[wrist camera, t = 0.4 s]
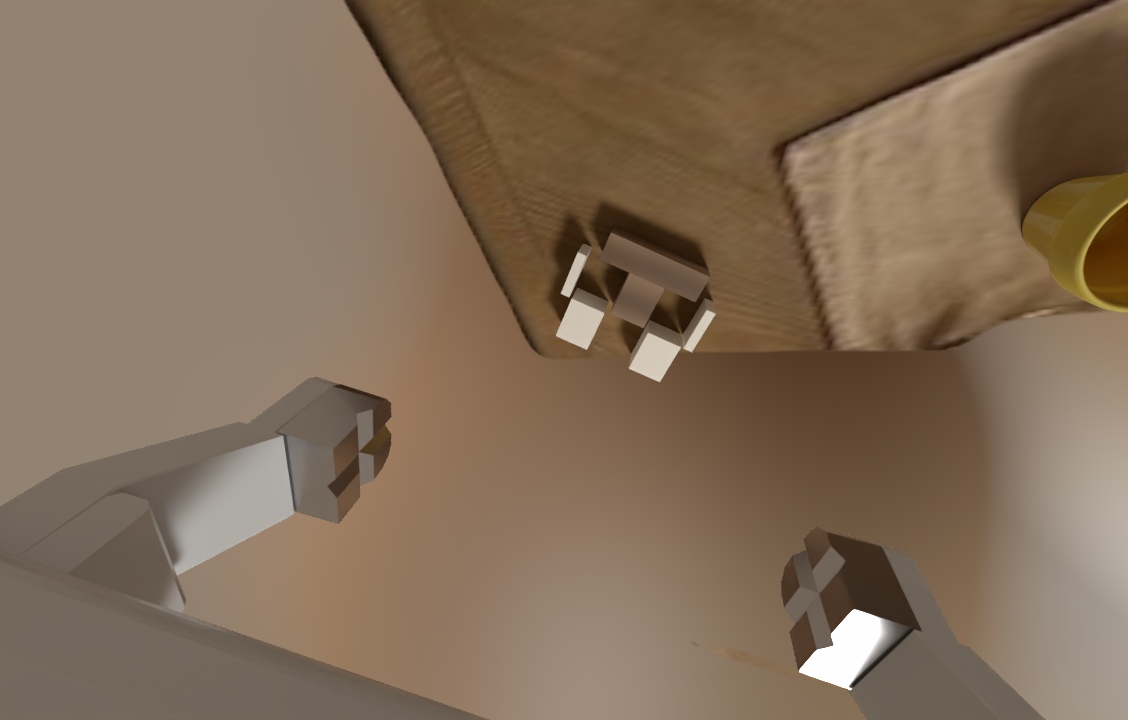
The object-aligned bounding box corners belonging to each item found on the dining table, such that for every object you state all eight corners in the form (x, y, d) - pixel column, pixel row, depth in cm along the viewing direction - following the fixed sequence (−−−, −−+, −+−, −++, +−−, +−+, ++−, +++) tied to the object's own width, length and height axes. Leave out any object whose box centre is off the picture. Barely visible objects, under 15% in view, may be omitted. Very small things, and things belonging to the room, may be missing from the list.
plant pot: (1169, 218, 40) (1302, 249, 32) (1031, 295, 45) (1113, 339, 36) (1113, 124, 38) (1238, 130, 29) (974, 215, 43) (1047, 243, 34)
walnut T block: (613, 226, 50) (610, 232, 47) (707, 268, 50) (710, 276, 47) (585, 291, 54) (581, 300, 51) (672, 330, 54) (672, 341, 51)
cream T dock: (583, 243, 51) (577, 252, 48) (713, 301, 51) (715, 313, 48) (552, 319, 56) (545, 331, 53) (670, 371, 56) (670, 386, 53)
